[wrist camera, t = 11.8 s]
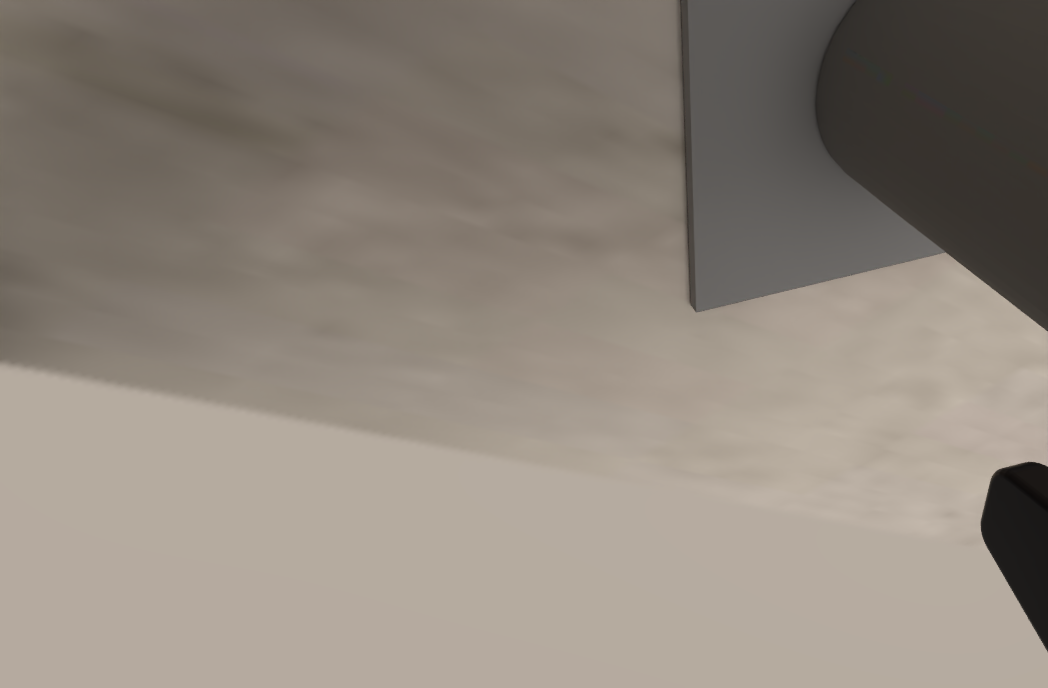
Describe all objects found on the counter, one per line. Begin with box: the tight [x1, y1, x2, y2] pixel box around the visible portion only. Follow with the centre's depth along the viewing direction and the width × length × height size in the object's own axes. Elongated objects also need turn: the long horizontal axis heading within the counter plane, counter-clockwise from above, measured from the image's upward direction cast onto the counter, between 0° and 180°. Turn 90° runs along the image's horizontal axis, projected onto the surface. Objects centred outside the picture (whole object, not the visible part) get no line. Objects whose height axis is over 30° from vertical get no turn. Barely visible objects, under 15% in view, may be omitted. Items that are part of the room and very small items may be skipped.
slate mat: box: [681, 0, 945, 312], centre depth 21 cm, size 12×12×1 cm
